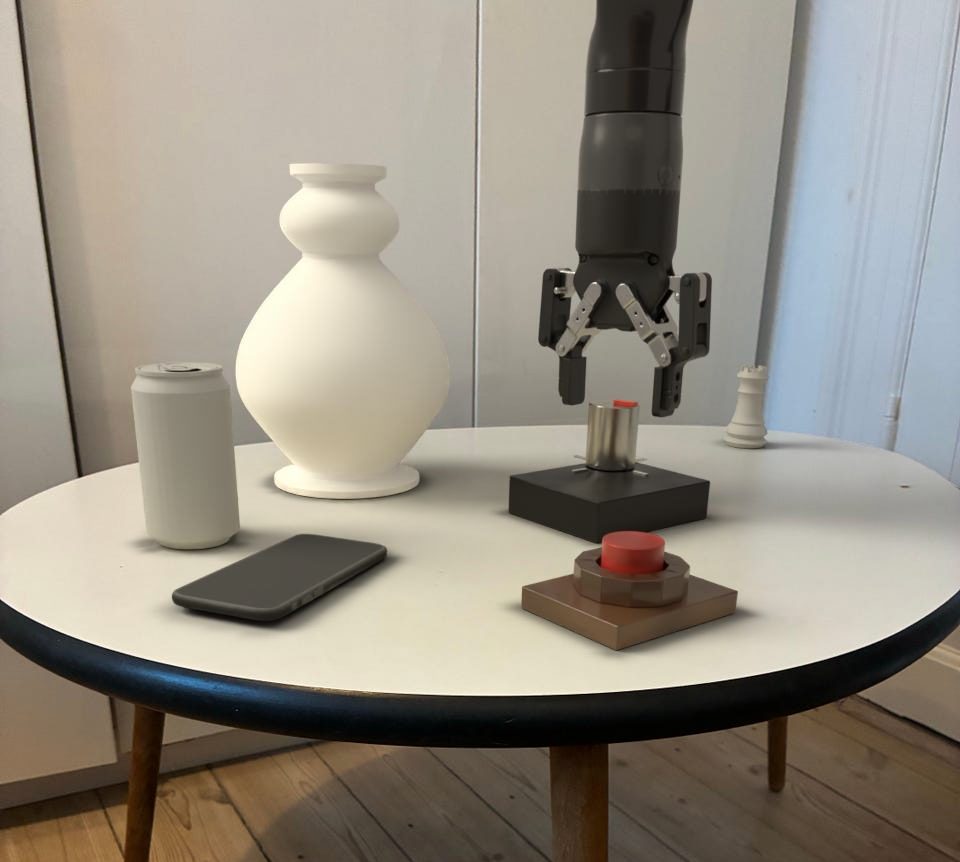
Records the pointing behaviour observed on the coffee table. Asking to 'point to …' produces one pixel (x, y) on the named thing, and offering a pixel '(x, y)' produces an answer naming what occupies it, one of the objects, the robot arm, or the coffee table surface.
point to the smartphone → (280, 577)
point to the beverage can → (186, 453)
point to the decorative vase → (342, 345)
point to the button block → (627, 601)
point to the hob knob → (612, 434)
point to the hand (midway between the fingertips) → (616, 409)
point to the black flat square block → (608, 499)
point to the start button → (632, 552)
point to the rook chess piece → (748, 410)
